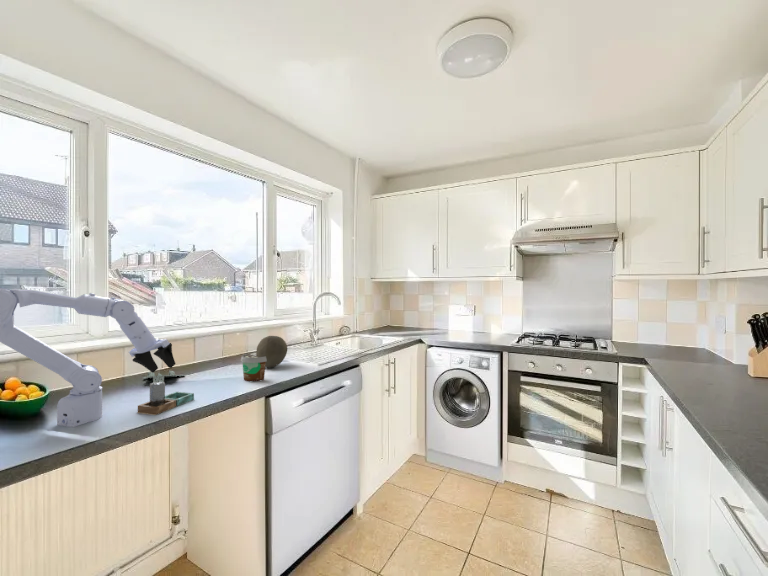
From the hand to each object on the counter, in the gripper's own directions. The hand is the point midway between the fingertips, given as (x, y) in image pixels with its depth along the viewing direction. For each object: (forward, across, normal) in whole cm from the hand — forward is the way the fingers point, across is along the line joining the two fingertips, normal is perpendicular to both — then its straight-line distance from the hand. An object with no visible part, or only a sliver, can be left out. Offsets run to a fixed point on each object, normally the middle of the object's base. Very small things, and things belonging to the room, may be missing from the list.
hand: (164, 368), depth 116 cm
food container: (+28, -2, -26) cm, 39 cm away
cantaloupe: (+37, +3, -47) cm, 60 cm away
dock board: (+11, +1, +6) cm, 13 cm away
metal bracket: (+15, +30, -18) cm, 38 cm away
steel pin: (+9, +1, +9) cm, 13 cm away
